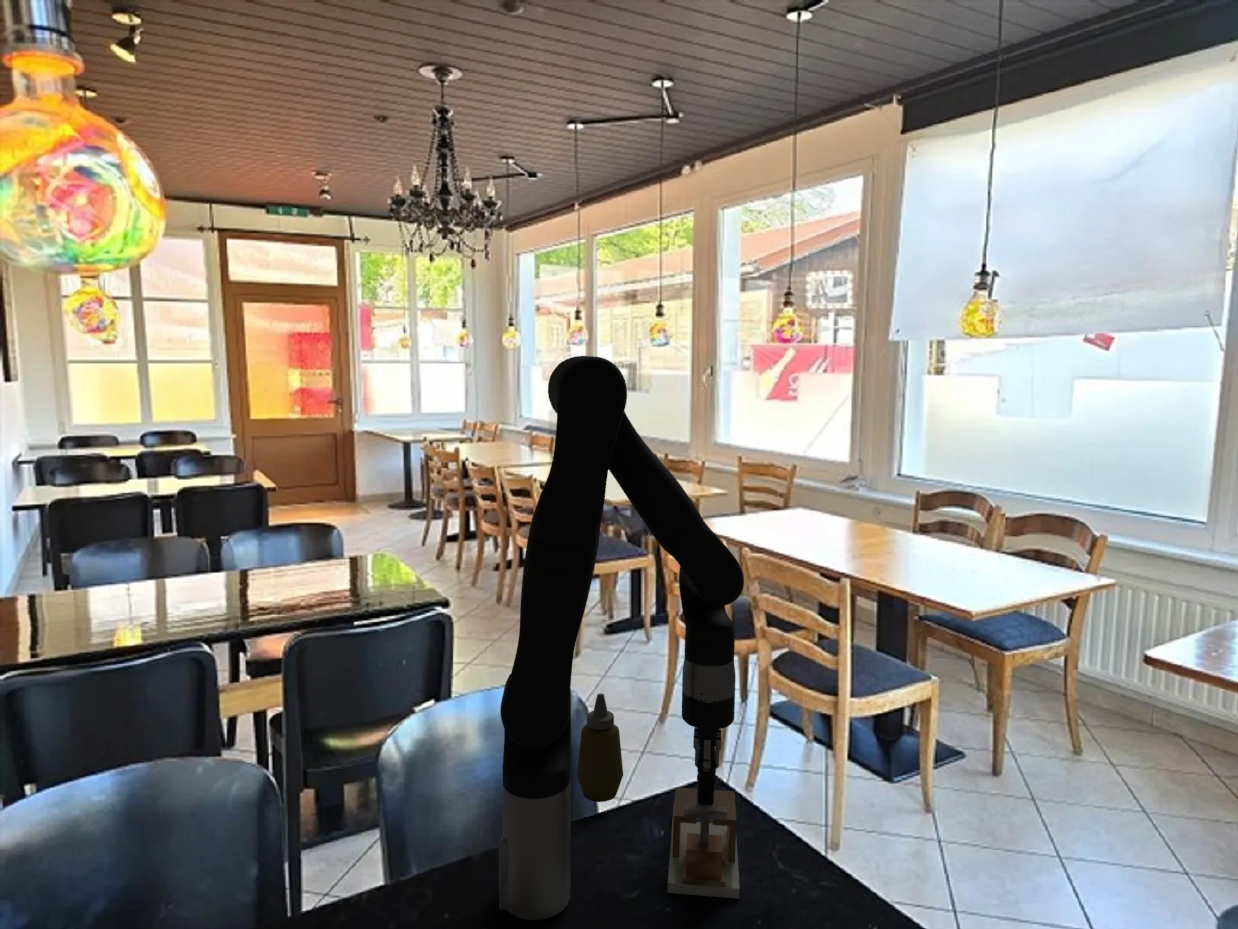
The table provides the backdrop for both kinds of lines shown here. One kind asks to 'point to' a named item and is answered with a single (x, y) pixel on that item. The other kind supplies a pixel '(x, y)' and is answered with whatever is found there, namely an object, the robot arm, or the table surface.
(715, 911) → the table surface
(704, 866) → the sled
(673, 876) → the tunnel
